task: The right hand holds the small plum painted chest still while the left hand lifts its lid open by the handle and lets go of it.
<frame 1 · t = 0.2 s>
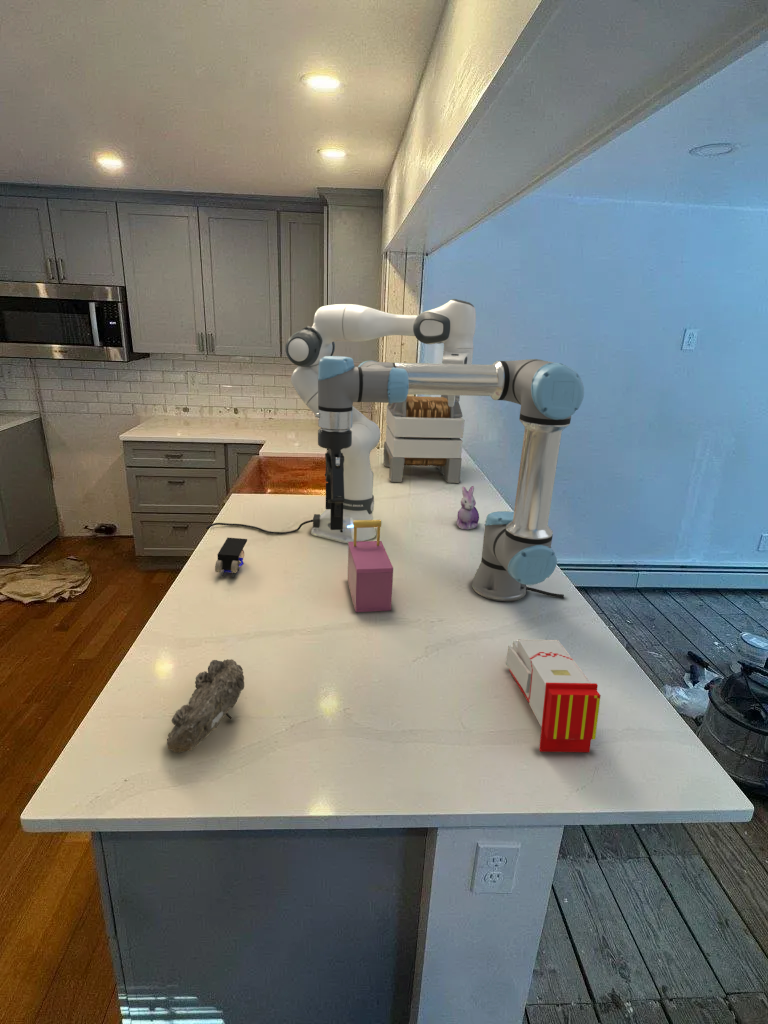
left hand: (453, 403, 174), 48 cm above the counter, tool pointing down, fingers open, 8 cm apart
right hand: (333, 518, 133), 28 cm above the counter, tool pointing down, fingers open, 13 cm apart
transformer: (419, 473, 275), on the counter
fossil: (212, 717, 108), on the counter
chest: (368, 595, 156), on the counter
figurine: (467, 525, 210), on the counter
toy: (542, 703, 116), on the counter
lid: (370, 542, 151), point 16 cm above the counter, hinge at 0.0°
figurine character: (232, 569, 168), on the counter
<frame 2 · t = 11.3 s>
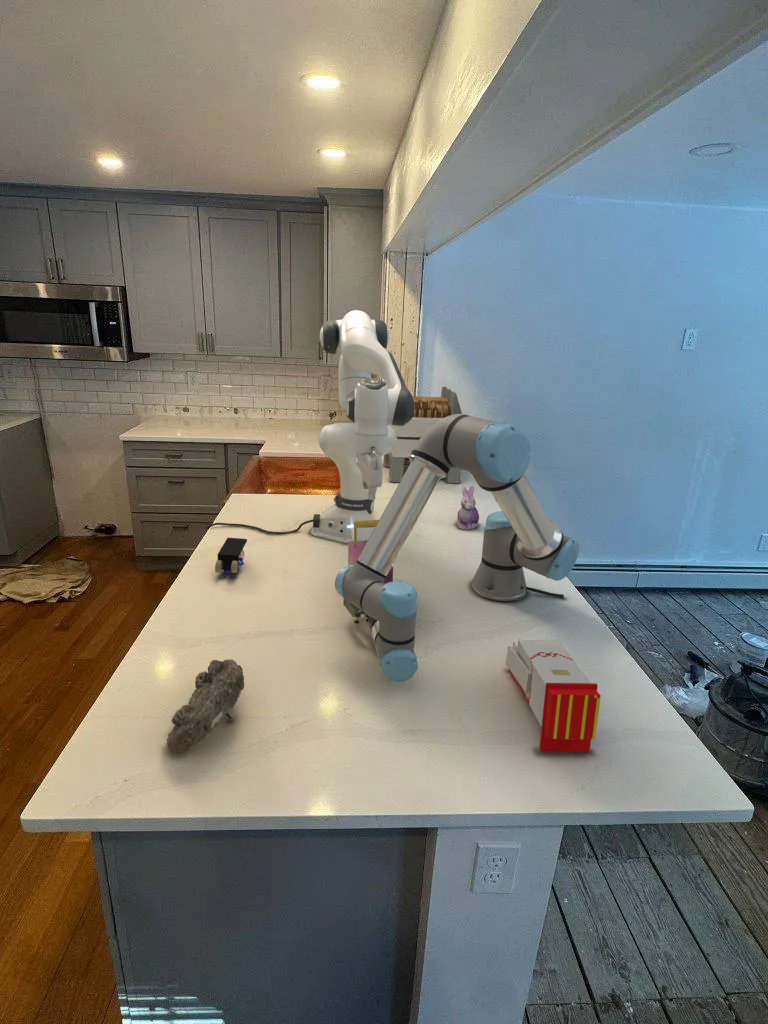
left hand: (368, 493, 153), 28 cm above the counter, tool pointing down, fingers open, 8 cm apart
right hand: (371, 584, 150), 6 cm above the counter, tool horizontal, fingers closed on chest, 9 cm apart
chest: (368, 595, 156), on the counter, touching right hand
everything else where it was.
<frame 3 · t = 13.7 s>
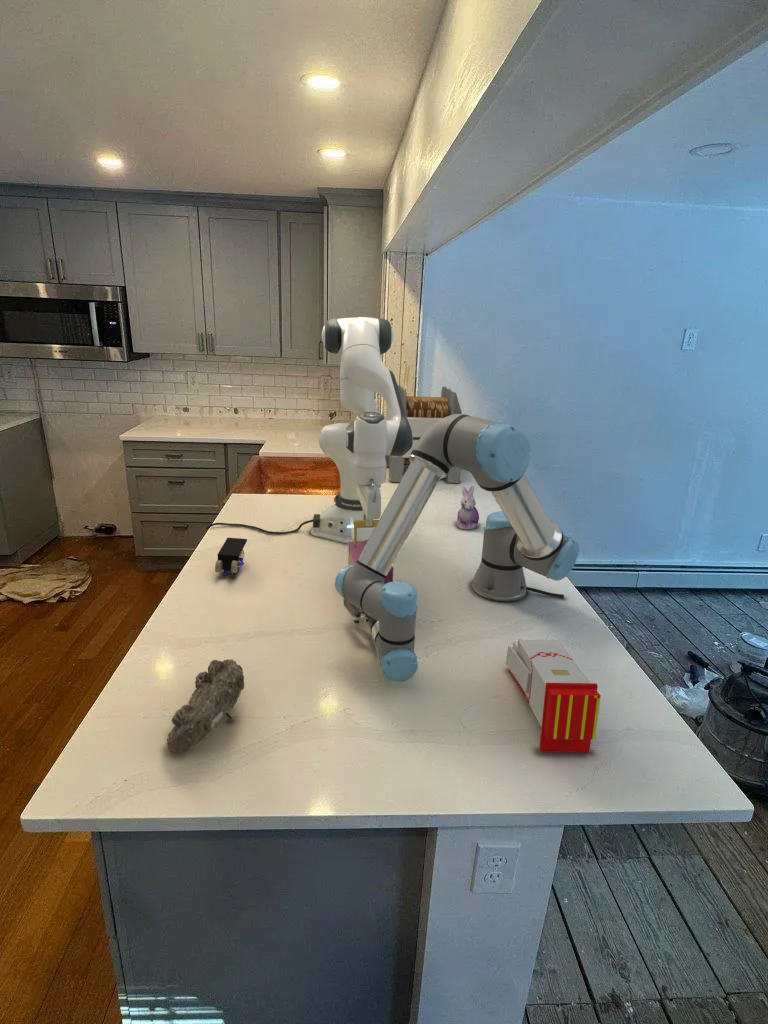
left hand: (367, 523, 155), 19 cm above the counter, tool pointing down, fingers closed on lid, 2 cm apart
right hand: (372, 584, 150), 6 cm above the counter, tool horizontal, fingers closed on chest, 9 cm apart
chest: (368, 595, 156), on the counter, touching right hand
lid: (370, 542, 151), point 16 cm above the counter, hinge at 0.0°, touching left hand
everything else where it was.
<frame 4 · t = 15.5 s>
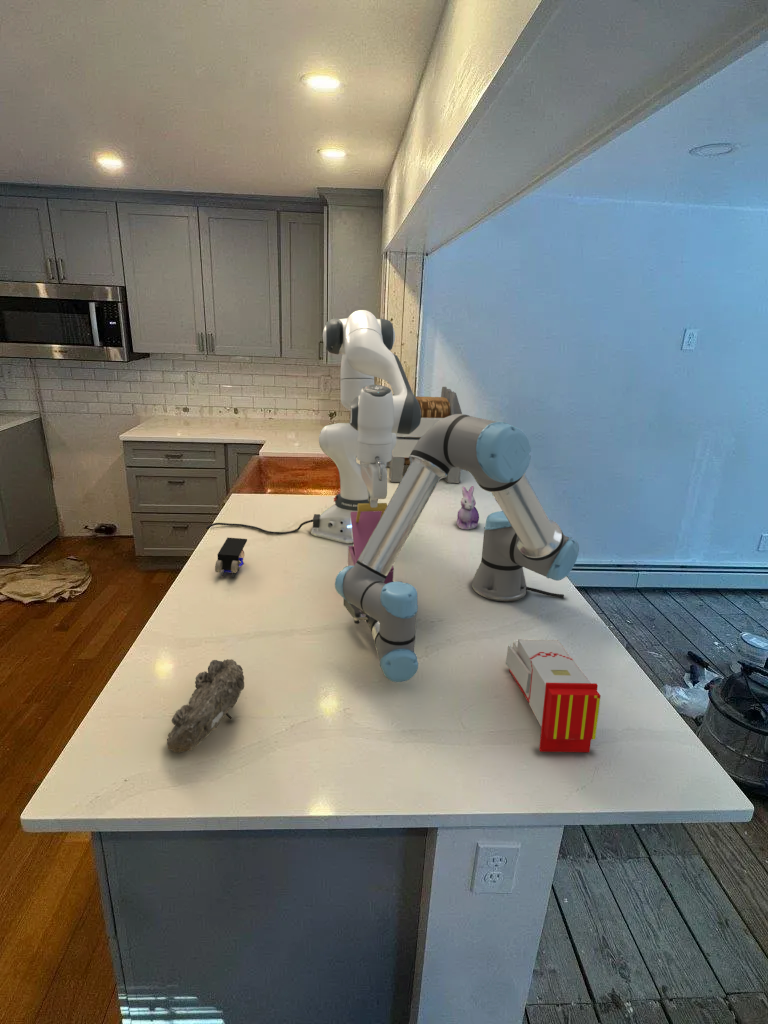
left hand: (372, 504, 146), 27 cm above the counter, tool pointing down, fingers closed
right hand: (372, 584, 149), 6 cm above the counter, tool horizontal, fingers closed on chest, 9 cm apart
chest: (368, 595, 156), on the counter, touching right hand
lid: (373, 532, 146), point 20 cm above the counter, hinge at 35.4°, touching left hand
everything else where it was.
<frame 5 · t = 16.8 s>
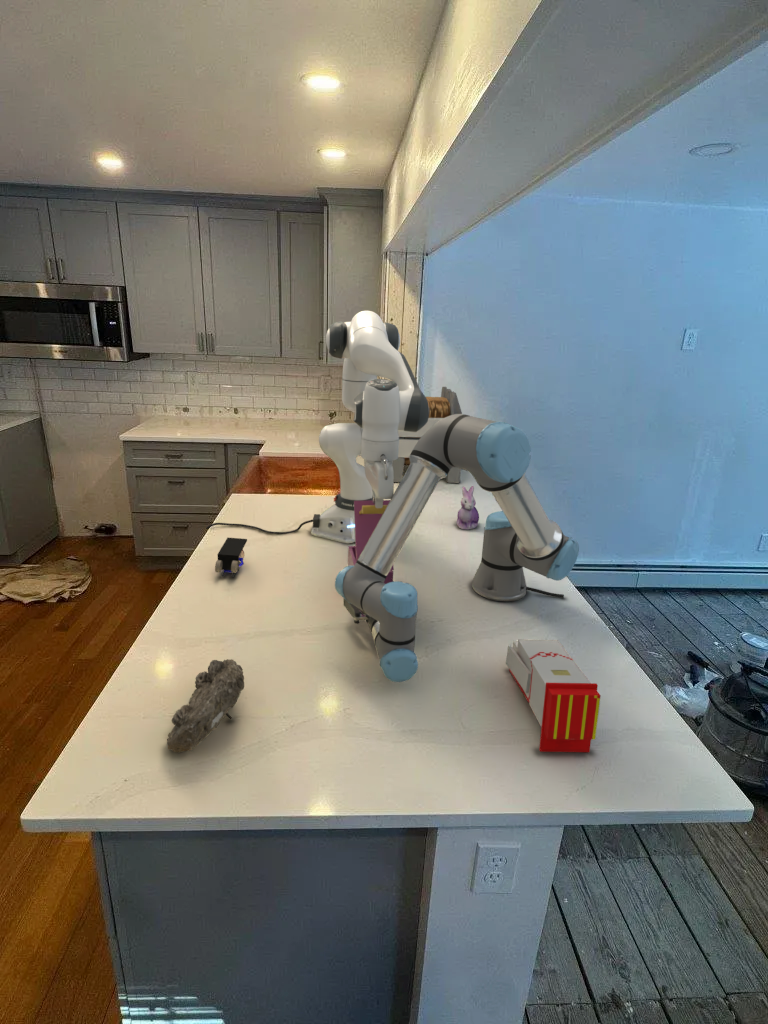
left hand: (377, 505, 138), 29 cm above the counter, tool pointing down, fingers closed, pressing on lid
right hand: (372, 584, 149), 6 cm above the counter, tool horizontal, fingers closed on chest, 9 cm apart
chest: (368, 595, 156), on the counter, touching right hand
lid: (376, 534, 141), point 22 cm above the counter, hinge at 62.8°, touching left hand
everything else where it was.
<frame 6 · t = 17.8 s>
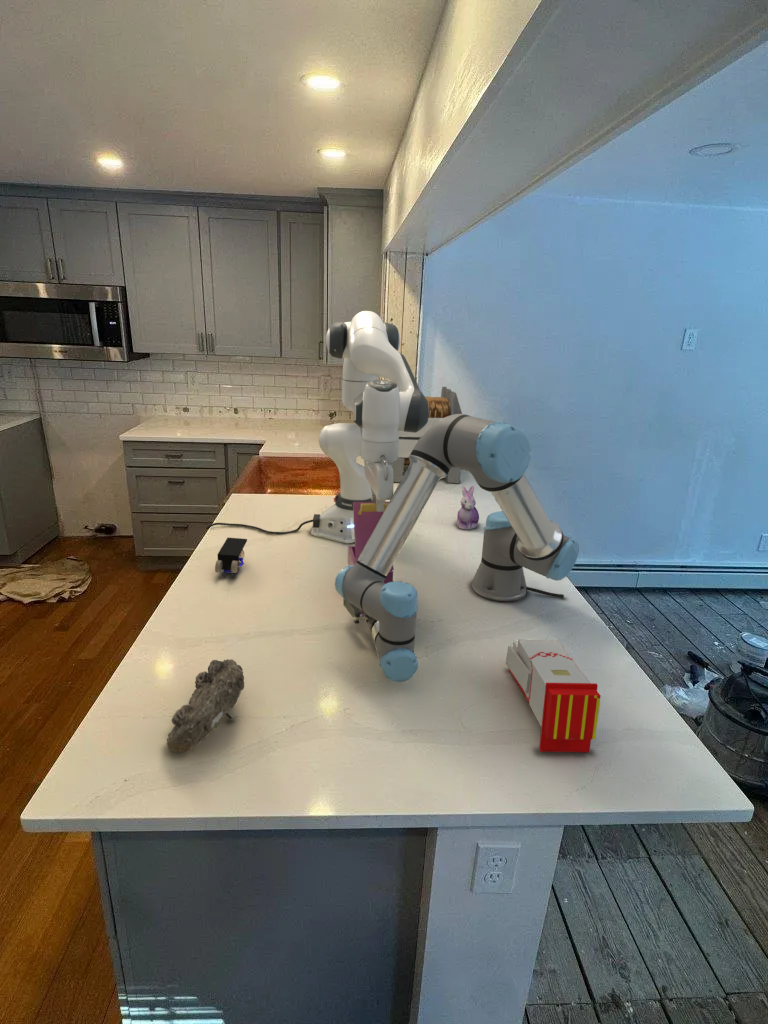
left hand: (377, 506, 139), 29 cm above the counter, tool pointing down, fingers open, 5 cm apart
right hand: (371, 584, 150), 6 cm above the counter, tool horizontal, fingers closed on chest, 9 cm apart
chest: (368, 595, 156), on the counter, touching right hand
lid: (375, 532, 143), point 21 cm above the counter, hinge at 56.0°, touching left hand
everything else where it was.
when the right hand's fingers open (6 cm above the counter, at t = 21.5 s): chest stays where it is, on the counter.
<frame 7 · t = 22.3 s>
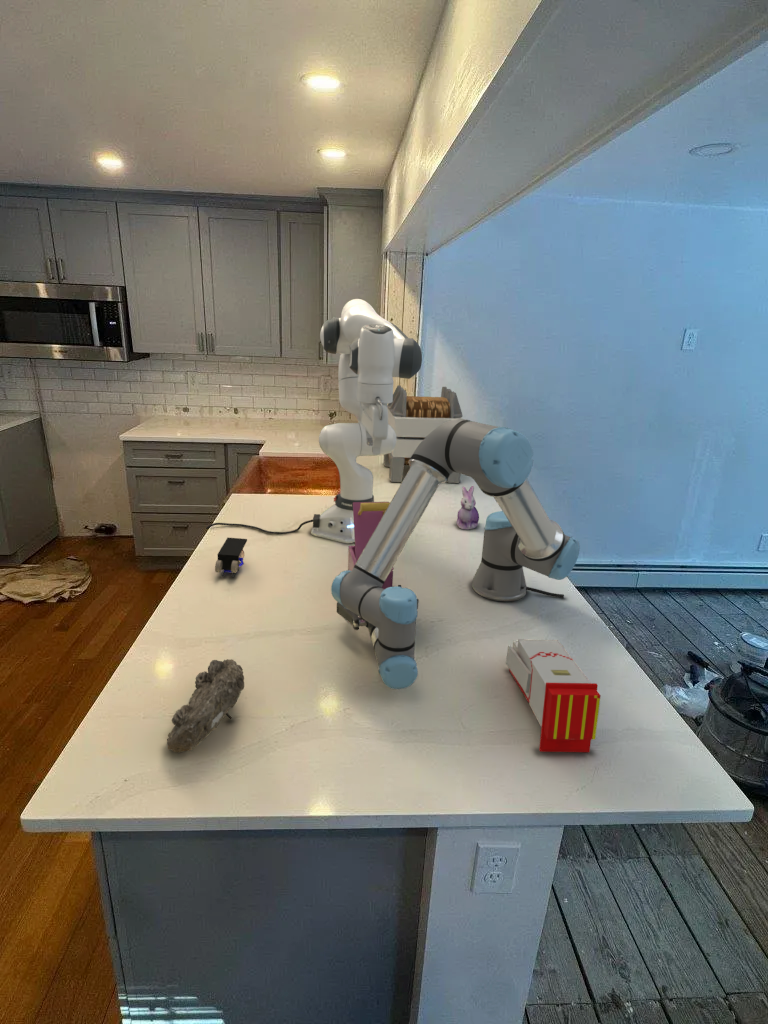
left hand: (372, 449, 144), 41 cm above the counter, tool pointing down, fingers open, 8 cm apart
right hand: (373, 590, 146), 6 cm above the counter, tool horizontal, fingers open, 13 cm apart
chest: (368, 595, 156), on the counter
lid: (375, 532, 143), point 21 cm above the counter, hinge at 54.7°
everything else where it was.
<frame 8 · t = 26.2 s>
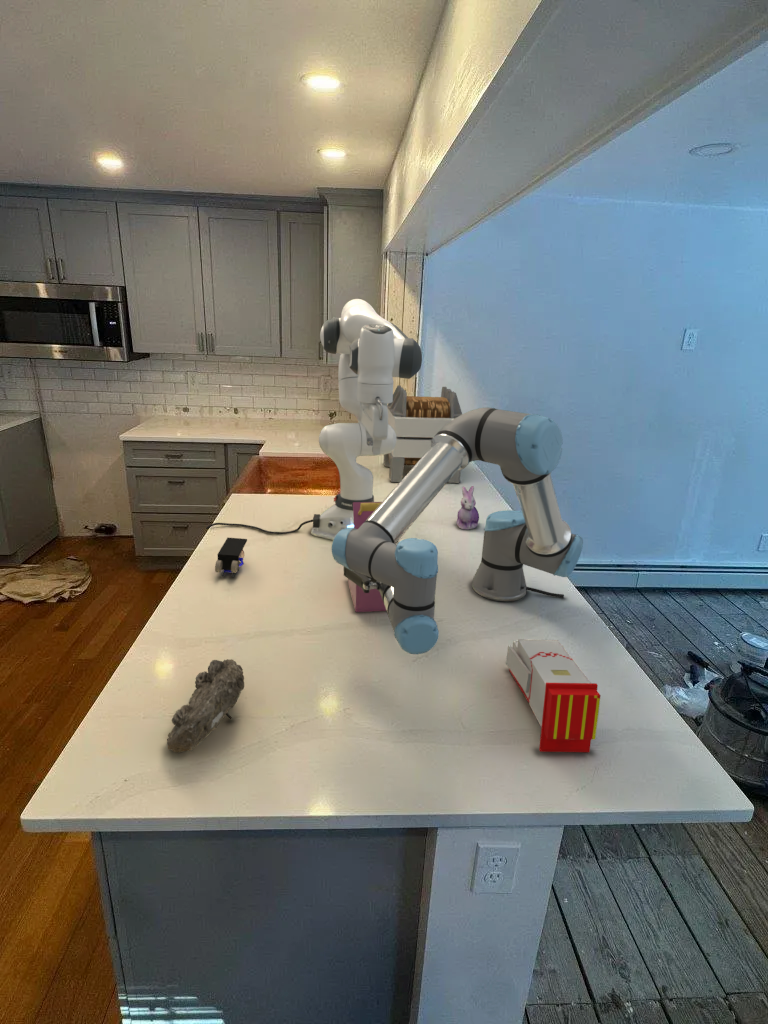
left hand: (372, 449, 144), 41 cm above the counter, tool pointing down, fingers open, 8 cm apart
right hand: (383, 553, 132), 21 cm above the counter, tool horizontal, fingers open, 13 cm apart
nothing on the counter moved.
at the end: lid at +55° (first picture: +0°); the left hand is holding nothing; the right hand is holding nothing; chest tilted 0°; chest never tilted more than 1° during the clip; chest moved 0.0 cm from its start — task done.
